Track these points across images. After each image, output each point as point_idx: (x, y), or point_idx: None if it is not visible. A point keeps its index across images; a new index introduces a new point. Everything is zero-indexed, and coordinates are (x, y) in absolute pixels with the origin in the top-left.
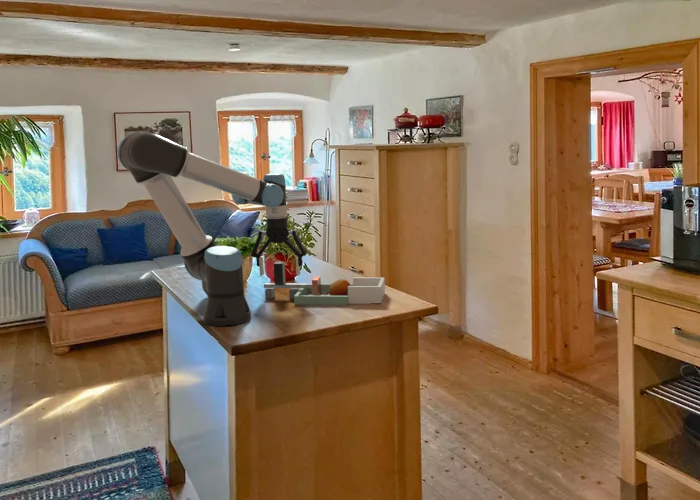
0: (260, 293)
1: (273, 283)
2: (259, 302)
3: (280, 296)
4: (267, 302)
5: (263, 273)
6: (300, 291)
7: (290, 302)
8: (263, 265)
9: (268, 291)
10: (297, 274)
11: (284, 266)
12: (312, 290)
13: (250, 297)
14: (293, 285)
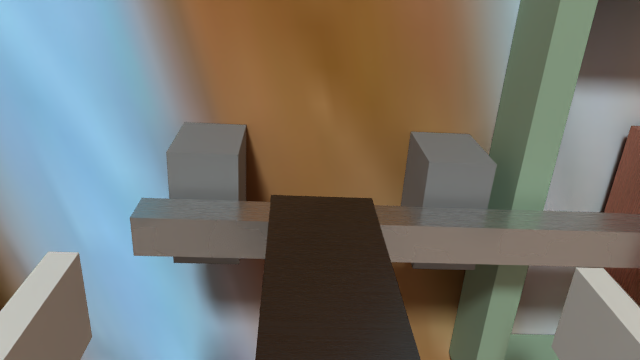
0: (65, 25)
1: (237, 223)
2: (175, 309)
3: (303, 141)
4: (238, 309)
5: (76, 286)
6: (517, 277)
7: (415, 307)
8: (15, 346)
9: (210, 257)
10: (569, 356)
11: (410, 341)
12: (631, 295)
13: (32, 172)
14: (465, 257)
